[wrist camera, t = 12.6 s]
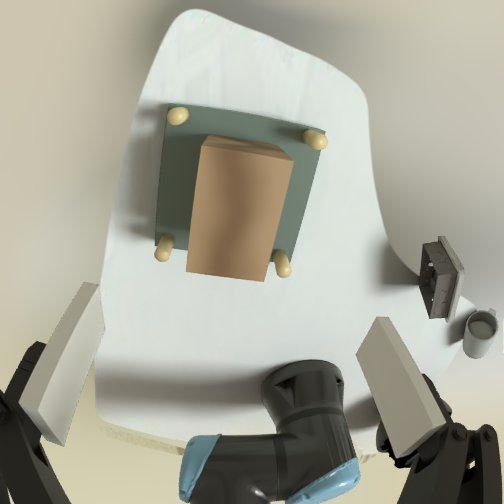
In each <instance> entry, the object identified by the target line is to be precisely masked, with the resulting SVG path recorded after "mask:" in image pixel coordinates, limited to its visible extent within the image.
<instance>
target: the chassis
mask: <svg viewBox="0 0 504 504" xmlns="http://www.w3.org/2000/svg"><path fill="white" fill-rule="evenodd" d="M325 132H326V131H323V130H320V129H316V128H312V127H308V126H304V125H300V124H296V123H292V122H287V121H283V120H278V119H273V118H268V117H263V116H258V115H253V114H247V113H242V112H236V111H229V110H223V109H216V108H209V107H201V106H192V105H183V104H173V103H171V104H169V107H168V113H167V120H166V127H165V134H164V142H163V150H162V158H161V168H160V178H159V188H158V201H157V214H156V231H155V246H157V248H156V251H155V253H154V255H155V258H156V259H157V260H158V261H160V262H165V261H167V260H168V259H169V256H170V253H171V250H172V248H174V249H181V250H188V245H189V236H190V227H191V218H192V210H193V202H194V194H195V187H196V180H197V173H198V166H199V159H200V153H201V146H202V144H203V143H204V141H205V140H206V138H207V137H208V135H209V134H214V135H220V136H227V137H233V138H239V139H245V140H251V141H257V142H262V143H267V144H272V145H277V146H279V147H280V148H281V149H282V150H283V151H284V152H285V153H286V154H287V155H288V156H289V157H290V158H291V159H292V160H293V161H294V164H293V168H292V172H291V176H290V181H289V185H288V189H287V193H286V197H285V201H284V205H283V209H282V213H281V217H280V221H279V225H278V229H277V233H276V237H275V241H274V245H273V249H272V253H271V256H270V260H269V262H274V264H275V268H276V272H277V275H278V276H279V277H281V278H286V277H288V276H289V275H290V274H291V271H292V270H291V267H290V261H291V258H292V254H293V251H294V247H295V244H296V240H297V237H298V233H299V230H300V226H301V223H302V219H303V216H304V212H305V208H306V205H307V201H308V197H309V194H310V190H311V186H312V182H313V179H314V175H315V171H316V167H317V163H318V160H319V156H320V152H321V150H323V149H324V148H325V147H326V146H327V143H328V140H327V138H326V136H325Z"/></svg>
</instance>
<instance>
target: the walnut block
mask: <svg viewBox="0 0 504 504" xmlns="http://www.w3.org/2000/svg"><path fill="white" fill-rule="evenodd" d="M293 164H294V161H293V160H292V159H291V158H290V157H289V156H288V155H287V154H286V153H285V152H284V151H283V150H282V149H281V148H280V147H279V146H277V145H272V144H267V143H262V142H257V141H251V140H245V139H239V138H233V137H227V136H220V135H214V134H209V135H208V137H207V138H206V140H205V141H204V143H203V144H202V146H201V153H200V159H199V166H198V173H197V180H196V187H195V194H194V202H193V210H192V218H191V227H190V236H189V245H188V255H187V265H186V272H191V273H199V274H206V275H213V276H221V277H229V278H237V279H245V280H253V281H261V282H264V280H265V276H266V272H267V268H268V264H269V260H270V256H271V253H272V249H273V245H274V241H275V237H276V233H277V229H278V225H279V221H280V217H281V213H282V209H283V205H284V201H285V197H286V193H287V189H288V185H289V181H290V176H291V172H292V168H293Z"/></svg>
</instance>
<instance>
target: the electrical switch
mask: <svg viewBox="0 0 504 504" xmlns="http://www.w3.org/2000/svg"><path fill="white" fill-rule="evenodd" d="M424 256H425V257H424ZM430 259H431V260H430ZM431 262H432V263H433V266H428V264H429V263H431ZM427 269H428V270H427ZM432 270H433V271H432ZM423 272H424V273H423ZM464 275H465V272H464V267H463V266H462V264H461V262H460V260H459V259H458V257H457V255H456V254H455V252H454V250H453V249H452V247H451V245H450V244H449V242H448V241H447V239H446V237H445V236H439V237H438V242H432V243H425V244H423V249H422V259H421V268H420V279H419V288H420V291H421V294H422V297H423V300H424V303H425V306H426V309H427V313H428V316H429V319H434V318H445V320H446V322H447V323H448V322H452V321H453V319H454V316H455V312H456V308H457V305H458V301H459V297H460V293H461V288H462V284H463V280H464ZM422 289H423V290H422ZM432 299H433V301H432Z"/></svg>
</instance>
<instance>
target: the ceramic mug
mask: <svg viewBox="0 0 504 504" xmlns="http://www.w3.org/2000/svg"><path fill="white" fill-rule="evenodd" d="M495 314H496V311H495V310H493V309H490V310H489V311H477V312H474V313H473V314H471V315H470V316H469V318H468V319H467V322H466V328H465V333H464V338H463V350H464V352H465V354H466V355H468V356H469V357H471V358H474V359H477V358H481V357H483V356H484V355H486V354H487V352H488V351H489V350H490V348H491V346H492V343H493V341H494V339H495V336H496V334H497V331H498V321H497V319H496V317H495Z"/></svg>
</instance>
